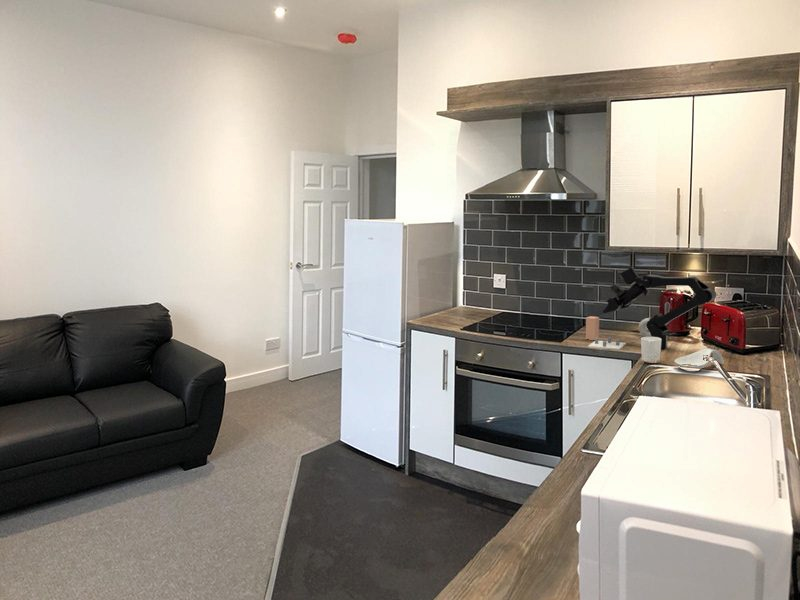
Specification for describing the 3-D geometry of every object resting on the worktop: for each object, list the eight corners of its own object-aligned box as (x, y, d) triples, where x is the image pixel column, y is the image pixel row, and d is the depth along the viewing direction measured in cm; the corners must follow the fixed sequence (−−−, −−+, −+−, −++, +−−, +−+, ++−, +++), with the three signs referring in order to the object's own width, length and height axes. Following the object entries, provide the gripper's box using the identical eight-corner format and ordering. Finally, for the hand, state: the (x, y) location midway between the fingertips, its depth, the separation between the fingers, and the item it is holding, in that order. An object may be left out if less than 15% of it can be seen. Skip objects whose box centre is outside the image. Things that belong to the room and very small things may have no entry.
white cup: (650, 365, 254) (651, 341, 252) (636, 361, 261) (636, 337, 260) (665, 362, 257) (665, 339, 255) (650, 359, 264) (651, 335, 263)
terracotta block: (598, 339, 307) (599, 317, 306) (594, 340, 304) (594, 318, 302) (590, 338, 310) (590, 316, 309) (585, 339, 307) (586, 317, 305)
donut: (638, 337, 307) (638, 317, 306) (638, 336, 311) (639, 316, 309) (659, 339, 303) (660, 319, 302) (660, 337, 306) (660, 317, 305)
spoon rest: (695, 376, 237) (695, 357, 236) (667, 369, 247) (668, 352, 246) (731, 367, 249) (732, 349, 248) (704, 361, 259) (705, 344, 258)
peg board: (625, 344, 294) (625, 337, 293) (619, 350, 282) (619, 343, 281) (595, 341, 301) (595, 335, 300) (587, 347, 289) (588, 340, 289)
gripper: (630, 277, 299) (606, 295, 308) (614, 280, 285) (588, 299, 295) (644, 296, 295) (619, 314, 305) (628, 300, 282) (602, 319, 291)
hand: (607, 311), depth 299 cm, fingers open, 9 cm apart
